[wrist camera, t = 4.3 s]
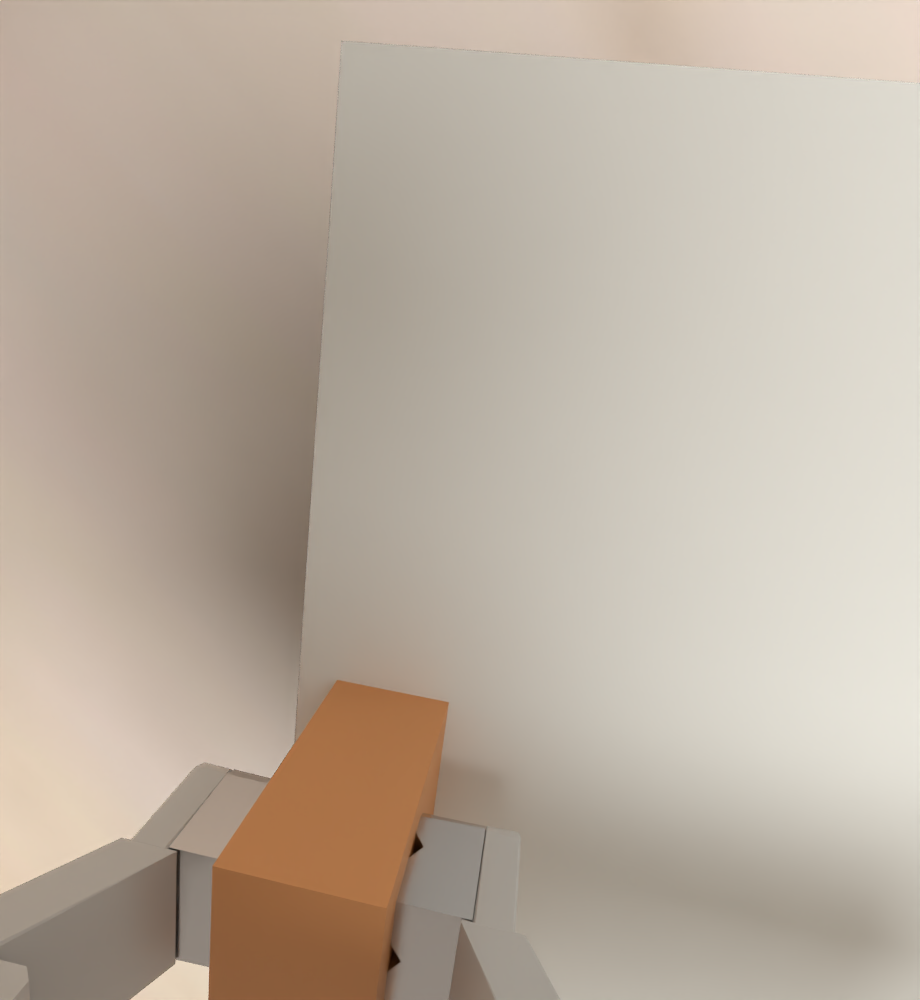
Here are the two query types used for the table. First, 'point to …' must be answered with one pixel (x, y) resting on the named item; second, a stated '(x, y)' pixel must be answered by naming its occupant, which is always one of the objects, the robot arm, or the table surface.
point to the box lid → (609, 532)
